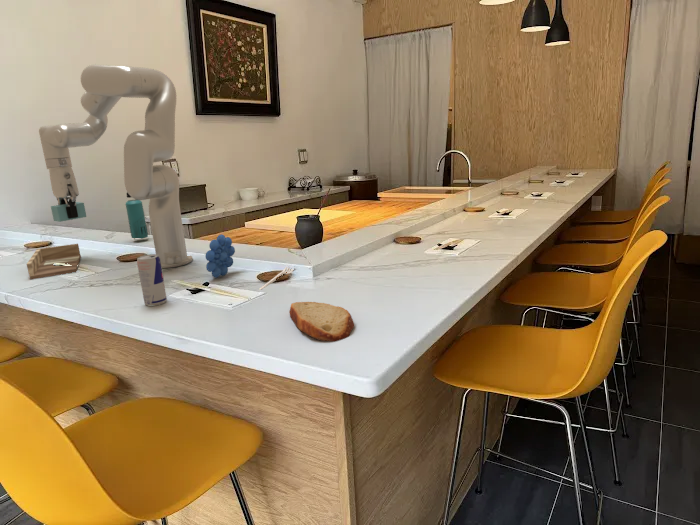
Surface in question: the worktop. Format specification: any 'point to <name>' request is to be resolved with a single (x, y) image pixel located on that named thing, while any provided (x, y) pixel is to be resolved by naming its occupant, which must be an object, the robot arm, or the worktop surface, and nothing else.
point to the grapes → (220, 256)
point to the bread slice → (322, 320)
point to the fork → (277, 276)
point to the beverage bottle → (136, 218)
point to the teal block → (61, 213)
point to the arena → (53, 261)
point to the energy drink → (151, 279)
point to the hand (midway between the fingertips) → (69, 216)
